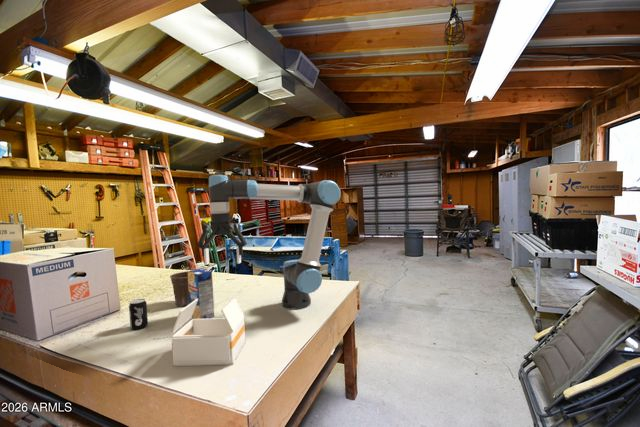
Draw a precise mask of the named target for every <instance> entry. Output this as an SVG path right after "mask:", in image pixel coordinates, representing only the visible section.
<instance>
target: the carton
mask: <svg viewBox="0 0 640 427" xmlns="http://www.w3.org/2000/svg"><path fill="white" fill-rule="evenodd" d="M245 329H246V328H245V316H244V317H243V319H242V320H241V321H240V323H239V324H238V325H237V327H236V328H235V330H234V331H233V332H232V331H231V329H230V327H229V325H228V323H227V321H226V319H225V317H216V318H215V317H213V318H207V319H194V318H191V319H190V320H188V321H187V322H186V323H185V324H184V325H182V326H181V327H180V328H179V329H178V330H177V332H176V331H175V332H174V333H173V335H171V350H172V361H173V367H184V366H185V367H187V366H191V367H192V366H194V367H195V366H220V365H221V366H225V365H226V366H227V365H229V366H230V365H231V366H232V365H234V363H235V362H236V360H237V358H239V355H240V353H241V352H242V350H243V348H244V346H245V344H246V330H245Z"/></svg>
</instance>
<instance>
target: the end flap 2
mask: <svg viewBox="0 0 640 427" xmlns="http://www.w3.org/2000/svg"><path fill="white" fill-rule="evenodd" d="M221 313H222V316H223V318H225V319H226V321H227V323H228V325H229V327H230V329H231V331H232V332H233V331H234V330H235V328H236V327H237V325H238V324H239V323H240V321H241V320H242V319H243V317H244V318H245V314H244V313H243V310H242V309H241V306H240V305H239V303H238V301H237V299H236V297H235V296H234V297H233V298H231V300H230V301H229V302H228V303H227V304H226V305H225V306H224V307H223V308H222V309H221Z"/></svg>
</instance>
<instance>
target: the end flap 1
mask: <svg viewBox="0 0 640 427" xmlns="http://www.w3.org/2000/svg"><path fill="white" fill-rule="evenodd" d="M197 301H198V299H196V300H194V301H193V302H192V303H190V304H189V305H188V306H184V307H183V308H182V309H181V310H180V311H179V312H178V314H177V318H176V320H175V323H174V326H173V327H172V331H171V334H175V333H176V331H177V332H178V331H179V330H180V329H181V328H182V327H183V326H185V325H186V324H187V323H188V322H189V321H190V320H192V318H193V317H192V315H193V312H194V309H195V307H196V304H197Z"/></svg>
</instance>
